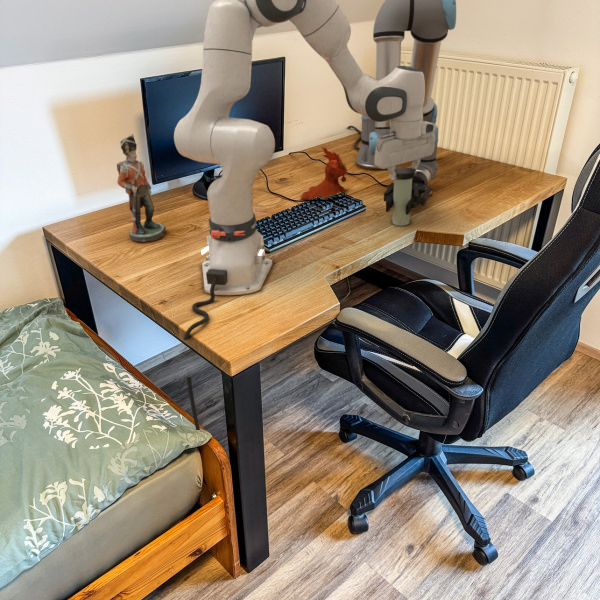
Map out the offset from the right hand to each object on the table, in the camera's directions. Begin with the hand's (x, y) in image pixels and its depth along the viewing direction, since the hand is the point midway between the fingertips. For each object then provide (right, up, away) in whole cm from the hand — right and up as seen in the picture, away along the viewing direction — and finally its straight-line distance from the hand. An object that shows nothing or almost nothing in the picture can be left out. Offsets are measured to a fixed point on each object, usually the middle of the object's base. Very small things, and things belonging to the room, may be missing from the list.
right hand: (397, 208), depth 163 cm
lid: (+2, +11, -1) cm, 11 cm away
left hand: (+2, +9, 0) cm, 10 cm away
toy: (-20, +10, +29) cm, 36 cm away
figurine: (-74, -7, +6) cm, 75 cm away
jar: (+2, -3, +7) cm, 8 cm away
